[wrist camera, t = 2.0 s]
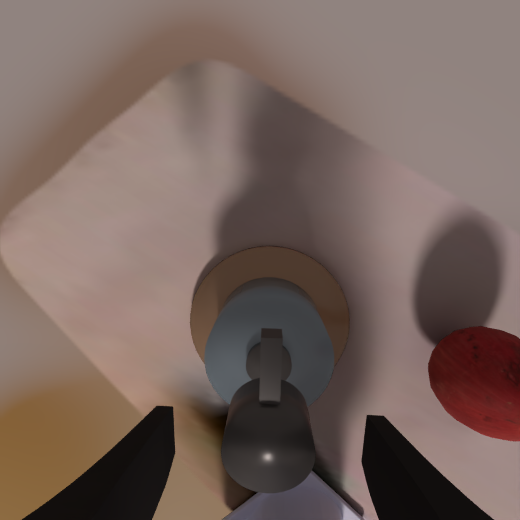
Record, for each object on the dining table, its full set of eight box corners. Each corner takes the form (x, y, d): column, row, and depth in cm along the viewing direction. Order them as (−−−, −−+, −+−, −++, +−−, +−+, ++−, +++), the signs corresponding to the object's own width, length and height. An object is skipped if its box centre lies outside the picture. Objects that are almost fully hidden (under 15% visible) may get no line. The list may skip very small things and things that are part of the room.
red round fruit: (419, 301, 20) (520, 368, 12) (502, 316, 20) (657, 393, 12) (396, 376, 21) (473, 482, 13) (474, 390, 21) (598, 504, 13)
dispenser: (266, 417, 22) (265, 487, 16) (160, 318, 20) (122, 360, 15) (379, 326, 20) (420, 372, 15) (272, 211, 19) (273, 215, 13)
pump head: (267, 439, 13) (266, 508, 10) (192, 369, 12) (167, 421, 9) (347, 376, 12) (372, 431, 9) (271, 298, 12) (272, 331, 9)
